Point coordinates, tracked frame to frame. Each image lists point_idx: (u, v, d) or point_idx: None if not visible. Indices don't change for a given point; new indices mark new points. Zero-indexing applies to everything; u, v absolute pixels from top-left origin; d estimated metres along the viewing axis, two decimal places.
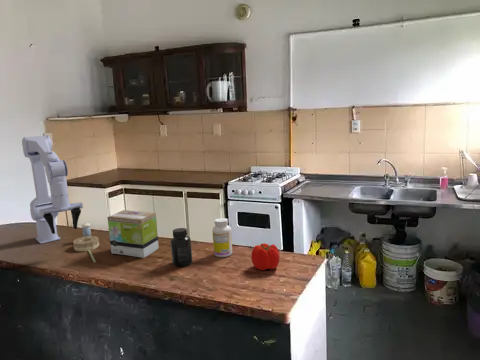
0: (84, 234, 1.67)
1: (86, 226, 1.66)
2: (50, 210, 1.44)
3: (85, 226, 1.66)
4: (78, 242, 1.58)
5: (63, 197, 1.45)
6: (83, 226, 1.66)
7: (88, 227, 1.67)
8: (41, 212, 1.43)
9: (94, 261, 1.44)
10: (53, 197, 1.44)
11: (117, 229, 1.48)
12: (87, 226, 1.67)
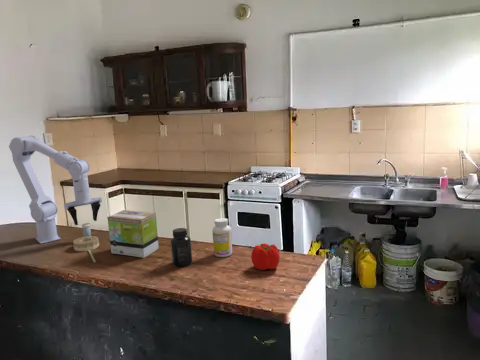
0: (84, 234, 1.67)
1: (86, 226, 1.66)
2: (74, 204, 1.62)
3: (85, 226, 1.66)
4: (78, 242, 1.58)
5: (85, 192, 1.63)
6: (83, 226, 1.66)
7: (88, 227, 1.67)
8: (66, 205, 1.61)
9: (94, 261, 1.44)
10: (76, 192, 1.62)
11: (117, 229, 1.48)
12: (87, 226, 1.67)
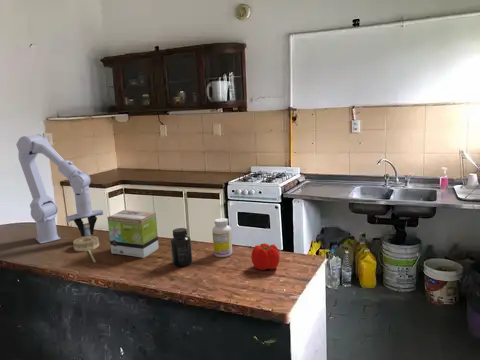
0: (84, 234, 1.67)
1: (86, 226, 1.66)
2: (75, 217, 1.63)
3: (85, 226, 1.66)
4: (78, 242, 1.58)
5: (86, 205, 1.64)
6: (83, 226, 1.66)
7: (88, 227, 1.67)
8: (67, 219, 1.62)
9: (94, 261, 1.44)
10: (78, 205, 1.63)
11: (117, 229, 1.48)
12: (87, 226, 1.67)
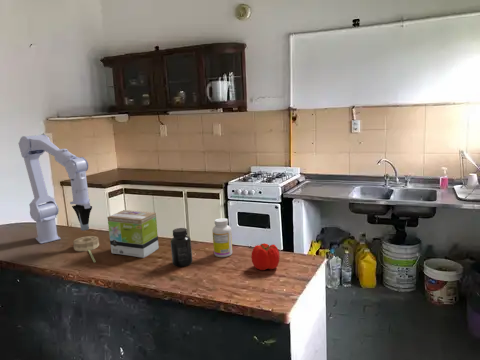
0: None
1: None
2: None
3: None
4: (78, 242, 1.58)
5: (72, 192, 1.55)
6: None
7: (79, 215, 1.58)
8: None
9: (94, 261, 1.44)
10: None
11: (117, 229, 1.48)
12: None
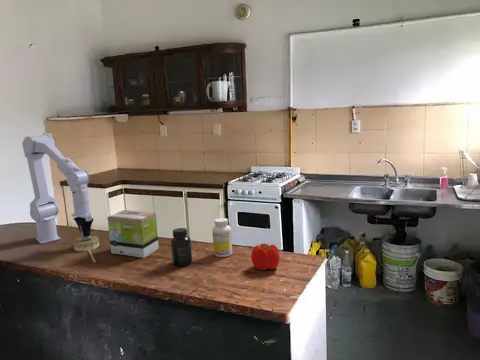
0: None
1: (80, 226, 1.58)
2: None
3: None
4: (78, 242, 1.58)
5: (74, 205, 1.55)
6: None
7: (80, 227, 1.58)
8: None
9: (94, 261, 1.44)
10: None
11: (117, 229, 1.48)
12: (80, 226, 1.58)
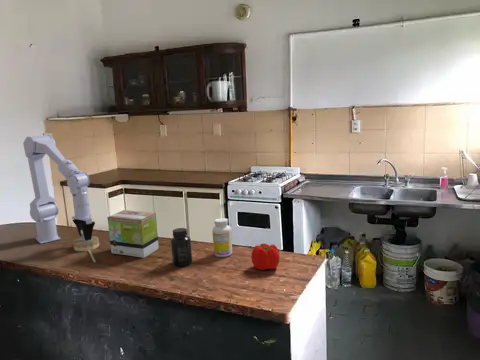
0: None
1: None
2: None
3: None
4: (78, 242, 1.58)
5: (74, 207, 1.56)
6: None
7: (81, 233, 1.59)
8: None
9: (94, 261, 1.44)
10: None
11: (117, 229, 1.48)
12: (81, 232, 1.59)
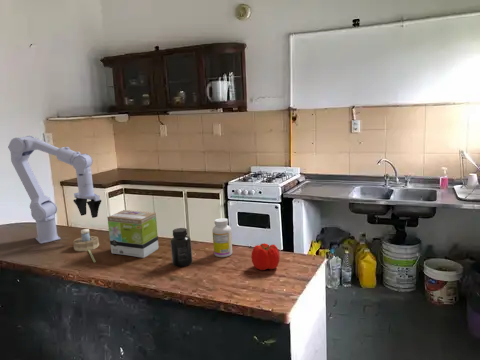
0: None
1: None
2: (77, 195, 1.68)
3: None
4: (78, 242, 1.58)
5: (80, 187, 1.64)
6: None
7: (81, 233, 1.59)
8: (74, 195, 1.71)
9: (94, 261, 1.44)
10: None
11: (117, 229, 1.48)
12: (81, 232, 1.59)
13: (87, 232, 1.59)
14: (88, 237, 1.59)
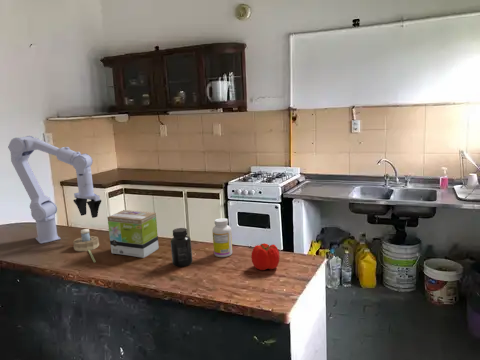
0: None
1: None
2: (77, 195, 1.68)
3: None
4: (78, 242, 1.58)
5: (80, 187, 1.64)
6: None
7: (81, 233, 1.59)
8: (74, 195, 1.71)
9: (94, 261, 1.44)
10: None
11: (117, 229, 1.48)
12: (81, 232, 1.59)
13: (87, 232, 1.59)
14: (88, 237, 1.59)
